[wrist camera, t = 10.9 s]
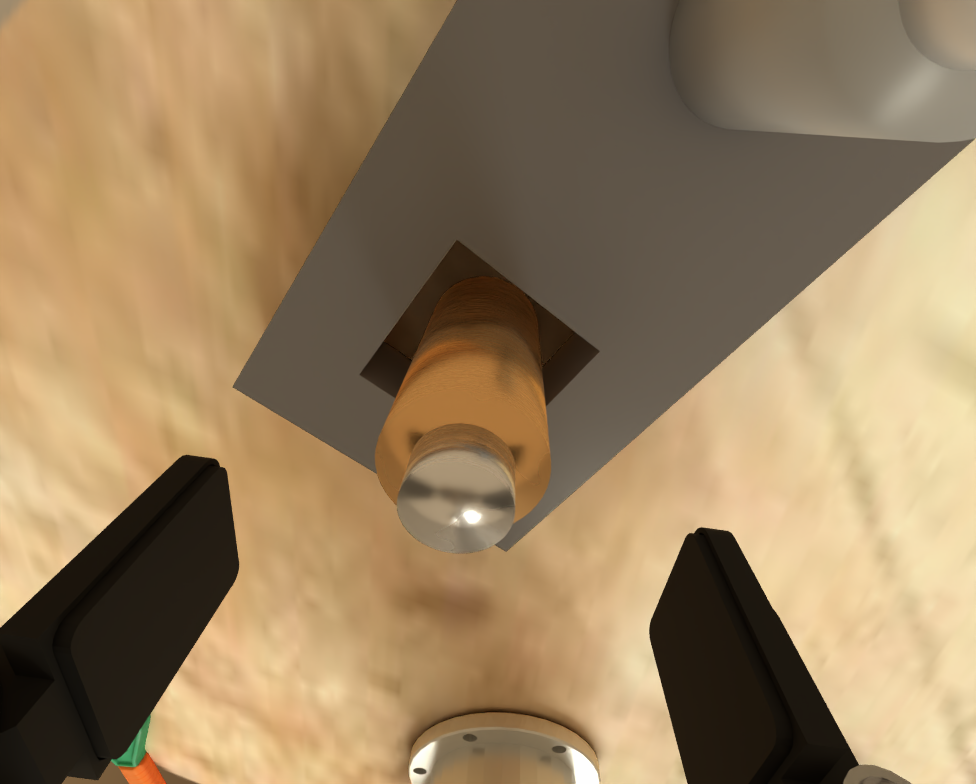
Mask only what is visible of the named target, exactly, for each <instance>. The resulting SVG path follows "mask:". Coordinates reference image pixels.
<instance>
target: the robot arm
mask: <svg viewBox="0 0 976 784" xmlns="http://www.w3.org/2000/svg"><path fill="white" fill-rule="evenodd" d="M238 570H239V559H238V551H237V544H236V536H235V529H234V521H233V514H232V506H231V499H230V491H229V484H228V476H227V471H226V469H225V468H223V467H220V465H219V462H218V461H217V460H216V459H212V458H205V457H198V456H191V455H184V456H182V457H180V458H179V459H178V460H177V461H176V462H175V463H174V464H173V465H172V466H170V467H169V468H168V469H167V470H166V471H165V472H164V473H163V474H162V475H161V476H160V477H159V478H158V479H157V480H156V481H155V482H154V483H153V484H151V485H150V486H149V487H148V488H147V489H146V490H145V491H144V492H143V493H142V494H141V495H140V496H139V497H138V498H137V499H136V500H135V501H134V502H133V503H131V504H130V505H129V506H128V507H127V508H126V509H125V510H124V511H123V512H122V513H121V514H120V515H119V516H118V517H117V518H116V519H115V520H114V521H112V522H111V523H110V524H109V525H108V526H107V527H106V528H105V529H104V530H103V531H102V532H101V533H100V534H99V535H98V536H97V537H96V538H95V539H94V540H92V541H91V542H90V543H89V544H88V545H87V546H86V547H85V548H84V549H83V550H82V551H81V552H80V553H79V554H78V555H77V556H76V557H75V558H73V559H72V560H71V561H70V562H69V563H68V564H67V565H66V566H65V567H64V568H63V569H62V570H61V571H60V572H59V573H58V574H57V575H56V576H55V577H53V578H52V579H51V580H50V581H49V582H48V583H47V584H46V585H45V586H44V587H43V588H42V589H41V590H40V591H39V592H38V593H37V594H36V595H34V596H33V597H32V598H31V599H30V600H29V601H28V602H27V603H26V604H25V605H24V606H23V607H22V608H21V609H20V610H19V611H18V612H17V613H16V614H14V615H13V616H12V617H11V618H10V619H9V620H8V621H7V622H6V623H5V624H4V625H3V626H2V627H1V628H0V784H62V782H63V781H64V780H65V778H66V777H67V776H69V777H77V778H85V779H93V780H99V778H100V777H101V775H102V773H103V772H104V770H105V769H106V767H107V766H108V764H109V763H110V761H111V760H112V759H118V758H120V757H121V756H122V755H123V754H124V753H125V752H126V751H127V749H128V748H129V747H130V745H131V743H132V742H133V740H134V739H135V737H136V736H137V734H138V733H139V731H140V729H141V728H142V726H143V725H144V723H145V722H146V720H147V718H148V717H149V715H150V714H151V712H152V711H153V709H154V707H155V706H156V704H157V703H158V701H159V700H160V698H161V696H162V695H163V693H164V692H165V690H166V689H167V687H168V685H169V684H170V682H171V681H172V679H173V678H174V676H175V674H176V673H177V671H178V670H179V668H180V667H181V665H182V663H183V662H184V660H185V659H186V657H187V656H188V654H189V653H190V651H191V649H192V648H193V646H194V645H195V643H196V642H197V640H198V638H199V637H200V635H201V634H202V632H203V631H204V629H205V627H206V626H207V624H208V623H209V621H210V620H211V618H212V616H213V615H214V613H215V612H216V610H217V609H218V607H219V605H220V604H221V602H222V601H223V599H224V598H225V596H226V594H227V593H228V591H229V590H230V588H231V587H232V585H233V583H234V582H235V580H236V577H237V574H238ZM649 634H650V641H651V645H652V649H653V653H654V657H655V660H656V664H657V668H658V672H659V676H660V680H661V683H662V687H663V691H664V695H665V699H666V703H667V707H668V710H669V714H670V718H671V722H672V726H673V730H674V733H675V737H676V741H677V745H678V749H679V753H680V756H681V760H682V764H683V768H684V772H685V776H686V779H687V783H688V784H911V783H910V782H909V781H907V780H905V779H903V778H902V777H900V776H898V775H897V774H895V773H893V772H892V771H889V770H886V769H883V768H880V767H878V766H875V765H859V764H858V762H857V760H856V759H855V757H854V755H853V753H852V751H851V749H850V747H849V746H848V744H847V742H846V740H845V738H844V736H843V734H842V733H841V731H840V729H839V727H838V725H837V723H836V722H835V720H834V718H833V716H832V714H831V712H830V710H829V709H828V707H827V705H826V703H825V701H824V699H823V697H822V696H821V694H820V692H819V690H818V688H817V686H816V685H815V683H814V681H813V679H812V677H811V675H810V673H809V672H808V670H807V668H806V666H805V664H804V662H803V660H802V659H801V657H800V655H799V653H798V651H797V649H796V648H795V646H794V644H793V642H792V640H791V638H790V636H789V635H788V633H787V631H786V629H785V627H784V625H783V624H782V622H781V620H780V618H779V616H778V615H777V614H776V612H775V611H774V610H773V608H772V606H771V605H770V603H769V601H768V599H767V597H766V595H765V593H764V591H763V590H762V588H761V586H760V584H759V582H758V580H757V578H756V577H755V575H754V573H753V571H752V569H751V567H750V565H749V564H748V562H747V560H746V558H745V556H744V554H743V552H742V551H741V549H740V547H739V545H738V543H737V541H736V539H735V537H734V536H733V535H732V533H730V532H729V531H724V530H717V529H710V528H702V527H701V528H698V529H697V530H696V531H695V533H694V534H693V533H689V534H688V535H687V536H686V538H685V540H684V542H683V545H682V547H681V550H680V552H679V554H678V557H677V559H676V562H675V564H674V566H673V569H672V571H671V574H670V576H669V578H668V581H667V583H666V586H665V588H664V590H663V593H662V595H661V598H660V600H659V602H658V605H657V607H656V609H655V612H654V614H653V617H652V619H651V622H650V628H649ZM408 775H409V778H410V781H411V783H412V784H600V772H599V764H598V760H597V757H596V755H595V752H594V751H593V750H592V748H591V747H590V746H589V744H588V743H587V742H586V741H584V740H583V739H582V738H581V737H579V736H578V735H577V734H576V733H574V732H572V731H570V730H569V729H567V728H565V727H563V726H561V725H559V724H556V723H554V722H551V721H548V720H546V719H542V718H537V717H533V716H529V715H523V714H516V713H504V712H486V713H475V714H468V715H463V716H459V717H454V718H451V719H449V720H446V721H443V722H440V723H438V724H437V725H435V726H433V727H431V728H430V729H428V730H426V731H425V732H424V733H423V734H422V735H421V736H420V737H419V738H418V739H417V740H416V742H415V744H414V745H413V747H412V751H411V756H410V761H409V768H408Z"/></svg>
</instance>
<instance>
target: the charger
mask: <svg viewBox="0 0 976 784" xmlns="http://www.w3.org/2000/svg"><path fill="white" fill-rule="evenodd" d="M975 138H976V0H457V1H456V3H455V5H454V7H453V8H452V10H451V12H450V13H449V15H448V17H447V19H446V20H445V22H444V24H443V25H442V27H441V29H440V31H439V32H438V34H437V36H436V38H435V39H434V41H433V43H432V44H431V46H430V48H429V50H428V51H427V53H426V55H425V56H424V58H423V60H422V62H421V63H420V65H419V67H418V69H417V70H416V72H415V74H414V75H413V77H412V79H411V81H410V82H409V84H408V86H407V87H406V89H405V91H404V93H403V94H402V96H401V98H400V99H399V101H398V103H397V105H396V106H395V108H394V110H393V112H392V113H391V115H390V117H389V118H388V120H387V122H386V124H385V125H384V127H383V129H382V130H381V132H380V134H379V136H378V137H377V139H376V141H375V143H374V144H373V146H372V148H371V149H370V151H369V153H368V155H367V156H366V158H365V160H364V161H363V163H362V165H361V167H360V168H359V170H358V172H357V173H356V175H355V177H354V179H353V180H352V182H351V184H350V186H349V187H348V189H347V191H346V192H345V194H344V196H343V198H342V199H341V201H340V203H339V204H338V206H337V208H336V210H335V211H334V213H333V215H332V217H331V218H330V220H329V222H328V223H327V225H326V227H325V229H324V230H323V232H322V234H321V235H320V237H319V239H318V241H317V242H316V244H315V246H314V247H313V249H312V251H311V253H310V254H309V256H308V258H307V260H306V261H305V263H304V265H303V266H302V268H301V270H300V272H299V273H298V275H297V277H296V278H295V280H294V282H293V284H292V285H291V287H290V289H289V291H288V292H287V294H286V296H285V297H284V299H283V301H282V303H281V304H280V306H279V308H278V309H277V311H276V313H275V315H274V316H273V318H272V320H271V322H270V323H269V325H268V327H267V328H266V330H265V332H264V334H263V335H262V337H261V339H260V340H259V342H258V344H257V346H256V347H255V349H254V351H253V352H252V354H251V356H250V358H249V359H248V361H247V363H246V365H245V366H244V368H243V370H242V371H241V373H240V375H239V377H238V378H237V380H236V382H235V383H234V385H233V388H235V389H237V390H238V391H240V392H242V393H243V394H245V395H247V396H248V397H250V398H252V399H253V400H255V401H256V402H258V403H260V404H261V405H263V406H265V407H266V408H268V409H270V410H271V411H273V412H275V413H276V414H278V415H280V416H281V417H283V418H285V419H286V420H288V421H290V422H291V423H293V424H295V425H296V426H298V427H300V428H301V429H303V430H305V431H306V432H308V433H310V434H311V435H313V436H315V437H316V438H318V439H320V440H321V441H323V442H325V443H326V444H328V445H330V446H331V447H333V448H335V449H336V450H338V451H340V452H341V453H343V454H345V455H346V456H348V457H350V458H351V459H353V460H355V461H356V462H358V463H360V464H361V465H363V466H365V467H366V468H368V469H370V470H371V471H373V472H375V473H376V474H377V471H376V466H375V450H376V444H377V441H378V437H379V435H380V433H381V431H382V428H383V426H384V424H385V421H386V419H387V417H388V415H389V412H390V410H391V408H392V405H393V403H394V401H395V399H396V396H397V394H398V392H399V389H400V387H401V385H402V383H403V380H404V378H405V376H406V373H407V371H408V369H409V367H410V364H411V362H412V361H411V360H410V359H408V358H407V357H406V356H404V355H403V354H401V353H400V352H398V351H397V350H395V349H394V348H392V347H391V346H389V345H388V344H387V343H385V342H384V340H385V338H386V337H387V336H388V334H389V333H390V331H391V330H392V329H393V327H394V326H395V324H396V323H397V322H398V320H399V319H400V318H401V316H402V315H403V313H404V312H405V311H406V309H407V308H408V307H409V305H410V304H411V302H412V301H413V300H414V298H415V297H416V295H417V294H418V293H419V291H420V290H421V289H422V287H423V286H424V284H425V283H426V282H427V280H428V279H429V277H430V276H431V275H432V273H433V272H434V271H435V269H436V268H437V266H438V265H439V264H440V262H441V261H442V259H443V258H444V257H445V255H446V254H447V253H448V251H449V250H450V248H451V247H452V246H453V244H454V243H455V241H456V240H458V241H459V242H461V243H462V244H463V245H464V246H466V247H467V248H468V249H470V250H471V251H472V252H473V253H475V254H476V255H477V256H478V257H480V258H481V259H482V260H484V261H485V262H486V263H487V264H489V265H490V266H491V267H493V268H494V269H495V270H496V271H498V272H499V273H500V274H502V275H503V276H504V277H505V278H507V279H508V280H509V281H511V282H512V283H513V284H514V285H516V286H517V287H518V288H519V289H521V290H522V291H523V292H525V293H526V294H527V295H528V296H530V297H531V298H532V299H534V300H535V301H536V302H537V303H539V304H540V305H541V306H543V307H544V308H545V309H546V310H548V311H549V312H550V313H552V314H553V315H554V316H555V317H557V318H558V319H559V320H560V321H562V322H563V323H564V324H566V325H567V326H568V327H569V328H571V329H572V330H573V331H575V333H574V334H573V335H572V336H571V337H570V338H569V339H568V341H567V342H566V343H565V344H564V345H563V346H562V347H561V348H560V349H559V350H558V351H557V352H556V353H555V354H554V356H553V357H552V358H551V359H550V360H549V361H548V362H547V363H546V364H545V365H544V366H543V367H542V372H543V383H544V393H545V404H546V414H547V425H548V435H549V446H550V456H551V475H550V481H549V484H548V487H547V489H546V491H545V493H544V495H543V497H542V499H541V500H540V501H539V503H538V504H537V505H536V506H535V507H534V508H533V510H532V511H531V512H529V513H528V514H527V515H526V516H524V517H523V518H521V519H520V520H518V521H517V522H515V523H513V525H512V527H511V529H510V530H509V532H508V533H507V535H506V536H505V537H504V538H503V539H502V540H500V541H499V542H498V543H496V544H495V545H496V546H497V547H499V548H501V549H502V550H504V551H508V550H509V549H510V548H511V547H512V546H513V545H514V544H516V543H517V542H518V541H519V540H520V539H521V538H522V537H523V536H525V535H526V534H527V533H528V532H529V531H530V530H531V529H533V528H534V527H535V526H536V525H537V524H538V523H539V522H540V521H542V520H543V519H544V518H545V517H546V516H547V515H548V514H550V513H551V512H552V511H553V510H554V509H555V508H556V507H558V506H559V505H560V504H561V503H562V502H563V501H564V500H565V499H567V498H568V497H569V496H570V495H571V494H572V493H573V492H575V491H576V490H577V489H578V488H579V487H580V486H581V485H583V484H584V483H585V482H586V481H587V480H588V479H589V478H590V477H592V476H593V475H594V474H595V473H596V472H597V471H598V470H600V469H601V468H602V467H603V466H604V465H605V464H606V463H607V462H609V461H610V460H611V459H612V458H613V457H614V456H615V455H617V454H618V453H619V452H620V451H621V450H622V449H623V448H625V447H626V446H627V445H628V444H629V443H630V442H631V441H632V440H634V439H635V438H636V437H637V436H638V435H639V434H640V433H642V432H643V431H644V430H645V429H646V428H647V427H648V426H649V425H651V424H652V423H653V422H654V421H655V420H656V419H657V418H659V417H660V416H661V415H662V414H663V413H664V412H665V411H667V410H668V409H669V408H670V407H671V406H672V405H673V404H674V403H676V402H677V401H678V400H679V399H680V398H681V397H682V396H684V395H685V394H686V393H687V392H688V391H689V390H690V389H691V388H693V387H694V386H695V385H696V384H697V383H698V382H699V381H701V380H702V379H703V378H704V377H705V376H706V375H707V374H709V373H710V372H711V371H712V370H713V369H714V368H715V367H716V366H718V365H719V364H720V363H721V362H722V361H723V360H724V359H726V358H727V357H728V356H729V355H730V354H731V353H732V352H734V351H735V350H736V349H737V348H738V347H739V346H740V345H741V344H743V343H744V342H745V341H746V340H747V339H748V338H749V337H751V336H752V335H753V334H754V333H755V332H756V331H757V330H758V329H760V328H761V327H762V326H763V325H764V324H765V323H766V322H768V321H769V320H770V319H771V318H772V317H773V316H774V315H776V314H777V313H778V312H779V311H780V310H781V309H782V308H783V307H785V306H786V305H787V304H788V303H789V302H790V301H791V300H793V299H794V298H795V297H796V296H797V295H798V294H799V293H800V292H802V291H803V290H804V289H805V288H806V287H807V286H808V285H810V284H811V283H812V282H813V281H814V280H815V279H816V278H818V277H819V276H820V275H821V274H822V273H823V272H824V271H825V270H827V269H828V268H829V267H830V266H831V265H832V264H833V263H835V262H836V261H837V260H838V259H839V258H840V257H841V256H843V255H844V254H845V253H846V252H847V251H848V250H849V249H850V248H852V247H853V246H854V245H855V244H856V243H857V242H858V241H860V240H861V239H862V238H863V237H864V236H865V235H866V234H867V233H869V232H870V231H871V230H872V229H873V228H874V227H875V226H877V225H878V224H879V223H880V222H881V221H882V220H883V219H885V218H886V217H887V216H888V215H889V214H890V213H891V212H892V211H894V210H895V209H896V208H897V207H898V206H899V205H900V204H902V203H903V202H904V201H905V200H906V199H907V198H908V197H909V196H911V195H912V194H913V193H914V192H915V191H916V190H917V189H919V188H920V187H921V186H922V185H923V184H924V183H925V182H927V181H928V180H929V179H930V178H931V177H932V176H933V175H934V174H936V173H937V172H938V171H939V170H940V169H941V168H942V167H944V166H945V165H946V164H947V163H948V162H949V161H950V160H951V159H953V158H954V157H955V156H956V155H957V154H958V153H959V152H961V151H962V150H963V149H964V148H965V147H966V146H967V145H969V144H970V143H971V142H972V141H973V140H974V139H975Z"/></svg>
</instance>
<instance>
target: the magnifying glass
mask: <svg viewBox="0 0 976 784" xmlns="http://www.w3.org/2000/svg"><path fill="white" fill-rule="evenodd" d="M150 718H151V716H150V715H149V717H148V718H147V720H146V722H145V723H144V725H143V726H142V728H141V729H140V731H139V733H138V734H137V736H136V737H135V739H134V740H133V742H132V743H131V745H130V747H129V748H128V749H127V751H126V752H125V753H124V754H123V755H122V756H121V757H120V758H118V759H112V760H111V761H112V762H113V763H114V764H115V765H116V766H118V767H119V769H120V770H121V772H122V773H123V775H124V776H125V778H126V780H127V781H128V782H129V784H166V782H165V780H164V779H163V777H162V775H161V773H160V772H159V770H158V768H157V767H156V765H155V763H154V761H153V760H152V759H151V758H150V756H149V754H148V753H147V752H146V750H145V742H146V738H147V733H148V728H149V723H150Z"/></svg>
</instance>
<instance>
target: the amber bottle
mask: <svg viewBox="0 0 976 784" xmlns="http://www.w3.org/2000/svg"><path fill="white" fill-rule="evenodd" d="M375 466H376V471H377V475H378V478H379V480H380V483H381V485H382V487H383V489H384V490H385V492H386V493H387V495H388V496H389V498H390V499H391V500H392V501H393V502H394V503H395V504H396V505H397V511H398V515H399V518H400V520H401V522H402V524H403V526H404V527H405V528H406V530H407V531H408V532H409V533H410V534H411V535H412V536H413V537H414V538H415V539H417V540H418V541H420V542H421V543H423V544H425V545H427V546H429V547H431V548H434V549H436V550H440V551H443V552H449V553H472V552H477V551H481V550H484V549H487V548H489V547H491V546H493V545H495V544H496V543H498V542H499V541H500V540H502V539H503V538H504V537H505V536H506V535H507V533H508V532H509V530H510V529H511V527H512V525H513V523H515V522H517V521H518V520H520V519H521V518H523V517H524V516H526V515H527V514H528V513H529V512H531V511H532V510H533V508H534V507H535V506H536V505H537V504H538V503H539V501H540V500H541V499H542V497H543V495H544V493H545V491H546V489H547V487H548V484H549V481H550V475H551V456H550V446H549V435H548V425H547V414H546V404H545V393H544V383H543V372H542V362H541V351H540V341H539V330H538V321H537V316H536V312H535V309H534V307H533V305H532V303H531V302H530V300H529V299H528V297H527V296H526V295H525V294H524V293H523V292H522V291H521V290H520V289H519V288H518V287H516V286H515V285H513V284H511V283H509V282H507V281H505V280H503V279H500V278H495V277H489V276H478V277H472V278H468V279H465V280H462V281H460V282H458V283H456V284H455V285H453V286H452V287H450V288H449V289H448V290H447V291H446V292H445V293H444V294H443V295H442V297H441V298H440V300H439V301H438V303H437V305H436V307H435V310H434V312H433V314H432V316H431V319H430V321H429V323H428V326H427V328H426V330H425V332H424V335H423V337H422V339H421V341H420V344H419V346H418V348H417V351H416V353H415V355H414V357H413V360H412V362H411V364H410V367H409V369H408V371H407V373H406V376H405V378H404V380H403V383H402V385H401V387H400V389H399V392H398V394H397V396H396V399H395V401H394V403H393V405H392V408H391V410H390V412H389V415H388V417H387V419H386V421H385V424H384V426H383V428H382V431H381V433H380V435H379V437H378V441H377V444H376V450H375Z"/></svg>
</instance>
